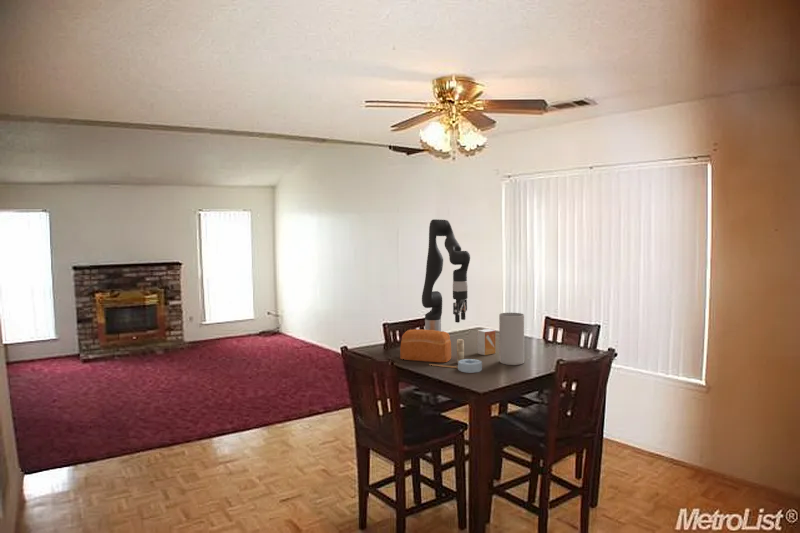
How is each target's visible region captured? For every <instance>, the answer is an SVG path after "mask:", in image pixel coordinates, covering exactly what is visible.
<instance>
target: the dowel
mask: <svg viewBox="0 0 800 533" xmlns="http://www.w3.org/2000/svg"><path fill="white" fill-rule="evenodd" d="M463 359H465V340H464V339H462V338H457V339H456V363H457V364H458V361H460V360H463Z"/></svg>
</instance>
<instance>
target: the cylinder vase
mask: <svg viewBox="0 0 800 533" xmlns="http://www.w3.org/2000/svg"><path fill="white" fill-rule="evenodd" d="M498 322H499V324H498V325H499V327H498V329H499V330H498V331H499V332H498V333H499V340H498V342H499V346H498V347H499V348H498V349H499V362H500V364H503V365H505V366H506V365H507V366H518V365H522V364H524V362H525V313H521V312H502V313H499V320H498Z"/></svg>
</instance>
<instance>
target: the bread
mask: <svg viewBox="0 0 800 533" xmlns="http://www.w3.org/2000/svg"><path fill="white" fill-rule="evenodd" d="M399 349H400V350H399V353H400V356H399V359H400V360H403V359H404V360H406V361H413V362H414V361H417V362H429V363H430V362H431V363H447V362H449V361H450V360H451V358H452V341H451V336H450V334H449V333H448V332H446V331H443V330H441V331H435V330H425V329H421V328H420V329H416V328H415V329H408V330H406V331H405V332H404V333H403V334H402V336H401V341H400V347H399Z"/></svg>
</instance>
